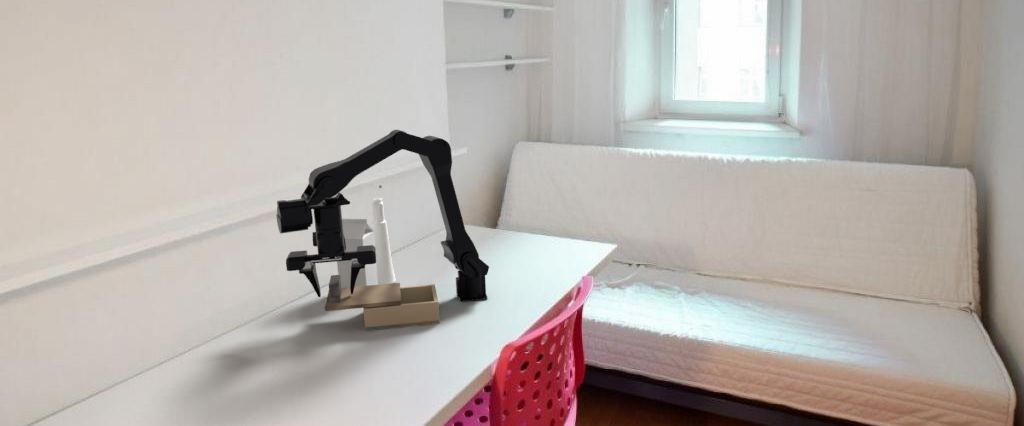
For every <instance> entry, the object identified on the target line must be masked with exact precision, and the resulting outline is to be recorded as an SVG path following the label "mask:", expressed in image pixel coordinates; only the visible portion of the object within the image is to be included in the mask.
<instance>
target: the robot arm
mask: <svg viewBox="0 0 1024 426" xmlns="http://www.w3.org/2000/svg"><path fill="white" fill-rule="evenodd" d="M402 150H404V151H408V152H409V153H414V154H418V156H419V157H420V160H421V162H422V164H423V166H424V168H425V169H426V171H427V173H428V174H429V176H430V177H431V181H432V184H433V188H434V192H435V196H436V200H437V202H438V206H439V210H440V213H441V217H442V221H443V224H444V228H445V231H446V232H445V234H446V236H445V240H442V241H440V244H441V247H442V250H443V257H444V258H445V259H447V260H448V261H449V262H450V263H451V264H452V265H454V268H455V269H456V270H457V277H455V288H456V289H455V291H456V296H457V297H458V298H459V301H460V302H472V301H479V300H487V299H488V295H487V284H486V276H487V275H488V273H489V269H490V266H489V265H488V264H487V263H485V262H484V261H483V260H482V259H481V258H480V256H479V252H478V249H477V248H476V246H475V244H474V241H473V240H472V239H471V237H470V236H469V233H468V232H467V231H466V227H465V224H464V223H465V222H464V220H463V216H462V211H461V208H460V204H459V200H458V198H457V193H456V189H455V185H454V182H453V179H452V178H453V177H452V167H453V158H452V157H453V156H452V148H451V146H450V143H449V142H448V141H447V140H445V139H443V138H441V137H437V136H434V135H426V136H423V137H420V136H417V135H414V134H410V133H407V132H406V131H404V130H400V129H393V130H391V131H390V132H389V133H388V134H387V135H385V136H383V137H381V138H380V139H378V140H376V141H375V142H372V143H371V144H369V145H367V146H365V147H364V148H362V149H360V150H359V151H356V152H355V153H353V154H352V155H350V156H348V157H346V158H344V159H341V160H338V161H334V162H330V163H327V164H324V165H322V166H319V167H316V168H314V169H313V170H312V171H311V172H310V173H309V176H308V185H307V186H306V188H305V189H304V191H303V193H302V194H301V196H300V198H298V199H296V198H295V199H290V200H288V199H287V200H286V199H285V200H283V199H281V200H277V201H276V204H277V207H276V214H275V215H276V223H277V227H278V228H277V229H278V232H279V233H280V234H287V233H294V232H295V233H296V232H301V231H308V230H309V228H310V227H312V225H313V224H314V228H315V231H312V246H313V247H317V254H308V251H307V250H297V251H296V250H295V251H290V252H289V253H288V255H287V257H286V260H285V264H286V265H285V267H286V271H288V272H294V271H298V273H299V274H302V275H304V276H305V277H306V279H307V280H308V281H309V283H310V285H311V286H312V288H313V290H314V292H315V293H316V295H317V297H318V298H321V295H322V293H321V287H320V282H319V277H318V273H317V266H316V264H321V263H323V264H324V263H332V262H333V263H335V262H336V263H337V261H348V260H352V265H351V283H350V290H351V294H353V291H354V287H355V282H356V279H357V276H358V273H359V271H360V269H362V268H365V265H366V264H374V263H376V248H375V247H374V246H373V245H368V246H357V251H351V252H345V250H346V242H345V237H344V234H343V224H342V219H343V217H342V206H347V205H350V204H351V201H350V200H349V199H348V198H346V197H345V196H344V195H343V193H342V192H341V191H342V190H344V189H345V188H346V187H347V186H348V185H349V184H350V183H351V181H352V180H354V178H355V177H357V176H358V175H361V173H364V172H365V171H367V170H369V169H370V168H372V167H374V166H376V165H377V164H379V163H381V162H383V161H384V160H387V159H388V158H389V157H391V156H393V155H394V154H396V153H398V152H400V151H402ZM312 211H313V212H312ZM313 218H314V219H313Z"/></svg>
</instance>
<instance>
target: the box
mask: <svg viewBox="0 0 1024 426" xmlns="http://www.w3.org/2000/svg"><path fill="white" fill-rule="evenodd" d="M400 291H401V304H398V305H387V306H376V307H366V308H363V310H362V311H363V319H364V321H363V322H364V329H365V330H364V331H365V332H367V331H368V332H369V331H375V330H377V331H378V330H386V329H397V328H398V329H399V328H407V327H417V326H428V325H437V324H441V322H440V309H439V308H440V307H439V306H440V305H439V299H438V293H437V289H436V285H435V283H432V284H424V285H423V284H422V285H421V284H420V285H412V286H400Z"/></svg>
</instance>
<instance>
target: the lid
mask: <svg viewBox="0 0 1024 426" xmlns="http://www.w3.org/2000/svg"><path fill="white" fill-rule="evenodd" d="M400 287H401V282H394V283H392V284H381V285H369V286H358V287H354V291H353V294H351V290H350V287H347V288H341V278H340V275H338V274H333V275H330V279H329V283H328V293H327V295H326V296H327V297H326V301H325V304H324V305H325V306H324V311H325V312H333V311H344V310H345V311H346V310H354V309H362V308H366V307H376V306H387V305H398V304H401V291H400Z"/></svg>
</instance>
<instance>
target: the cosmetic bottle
mask: <svg viewBox="0 0 1024 426" xmlns="http://www.w3.org/2000/svg"><path fill="white" fill-rule="evenodd" d="M382 200H383V198H382V197H376V198H373V199H372V216H373V221H371V229H372V230H373V232H374V243H375V248H376V266H377V278H378V285H381V284H392V283H396V281H397V279H396V275H395V270H394V266H393V260H392V253H391V246H390V238H389V229H388V223H387V220H386V219H385V208H384V205H385V204H384V202H383V201H382Z"/></svg>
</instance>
